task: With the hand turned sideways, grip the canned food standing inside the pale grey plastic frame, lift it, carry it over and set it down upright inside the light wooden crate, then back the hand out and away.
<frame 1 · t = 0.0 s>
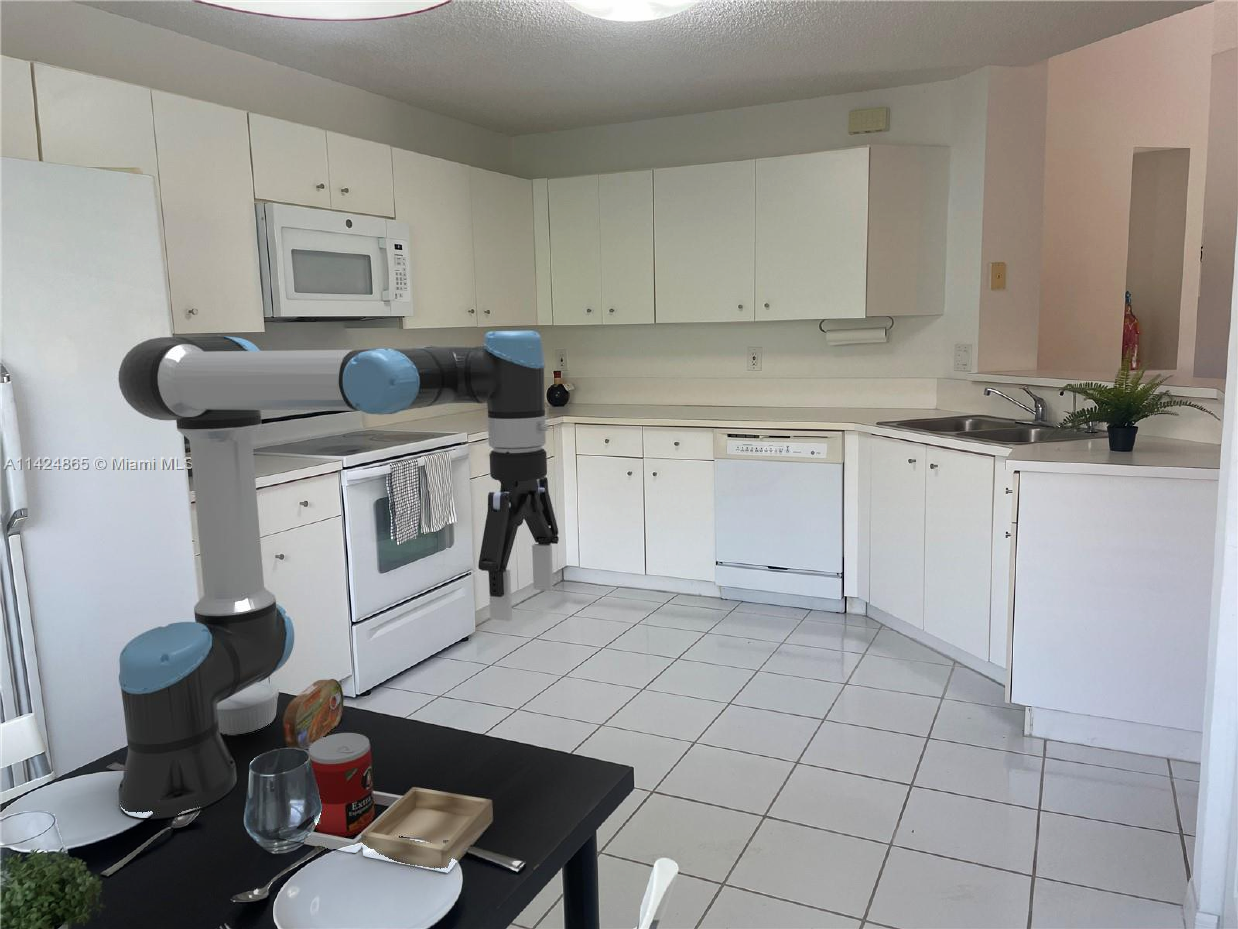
hand: (523, 603, 118), 28 cm above the table, tool pointing down, fingers open, 13 cm apart
ramekin: (245, 725, 147), on the table
tin: (315, 739, 142), on the table
canned food: (344, 824, 117), resting in grey plastic frame
wooden crate: (430, 838, 112), on the table
grey plastic frame: (344, 822, 117), on the table
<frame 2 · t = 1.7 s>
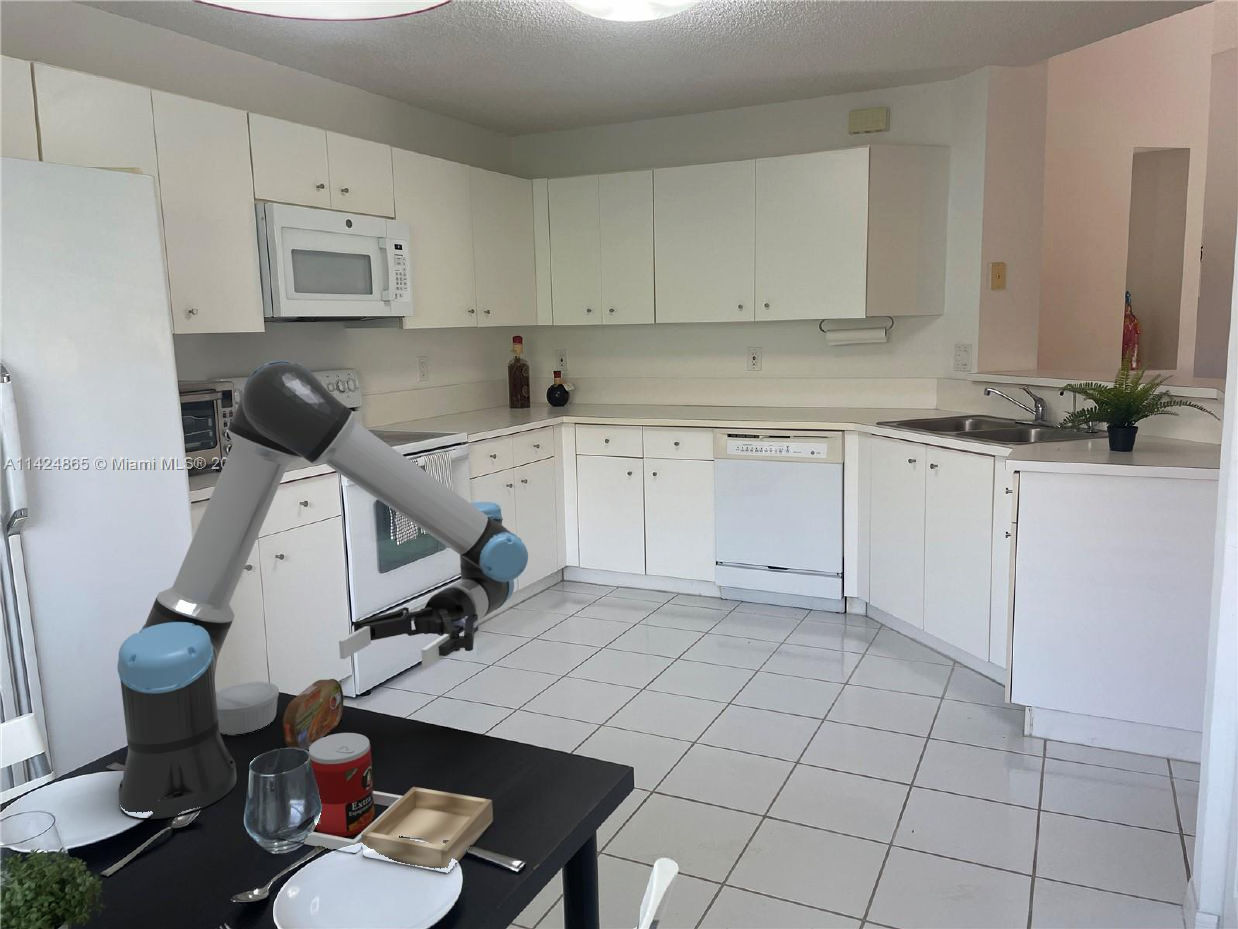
hand: (382, 654, 124), 20 cm above the table, tool horizontal, fingers open, 13 cm apart
nothing on the table moved.
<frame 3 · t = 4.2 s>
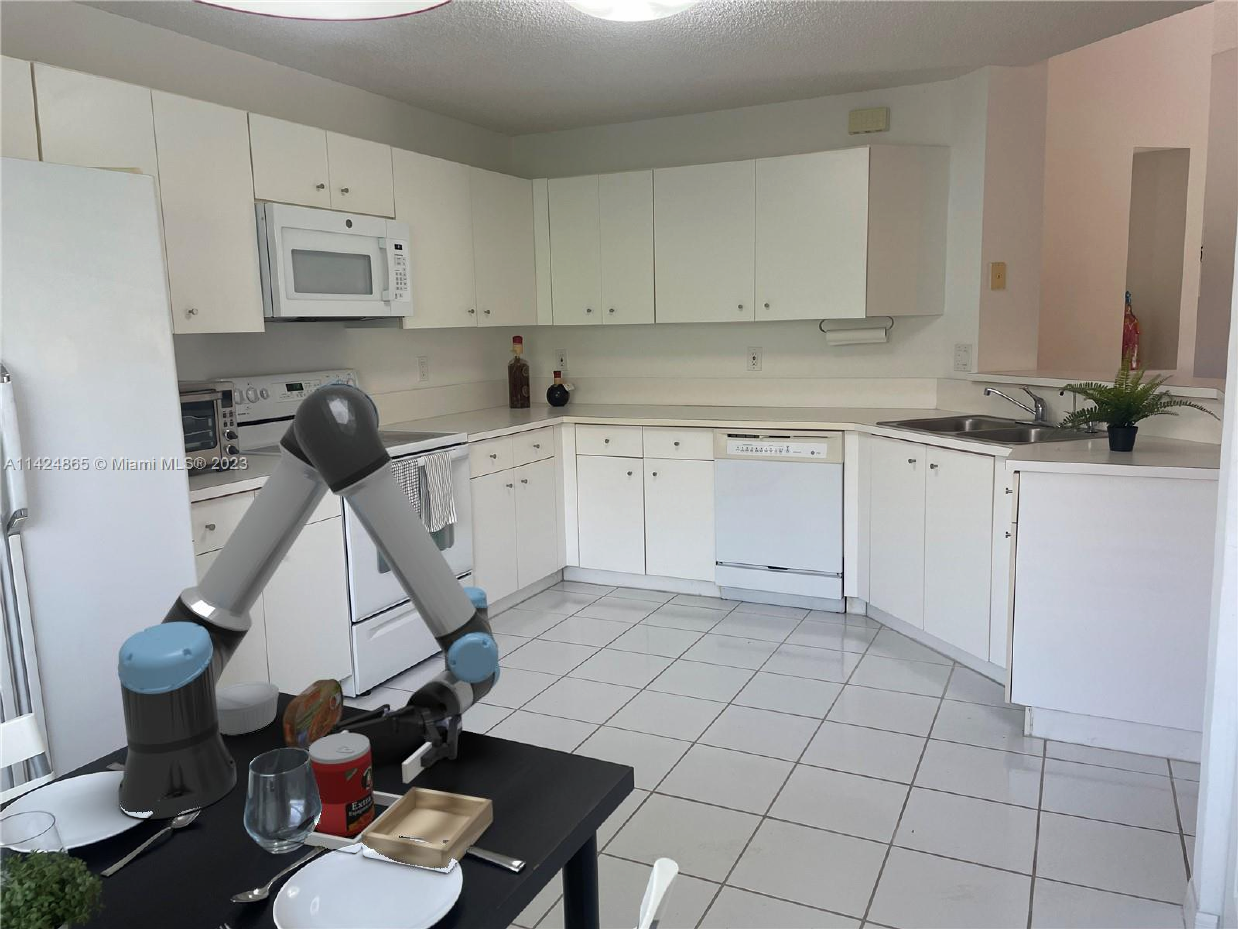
hand: (360, 767, 118), 6 cm above the table, tool horizontal, fingers open, 13 cm apart
nothing on the table moved.
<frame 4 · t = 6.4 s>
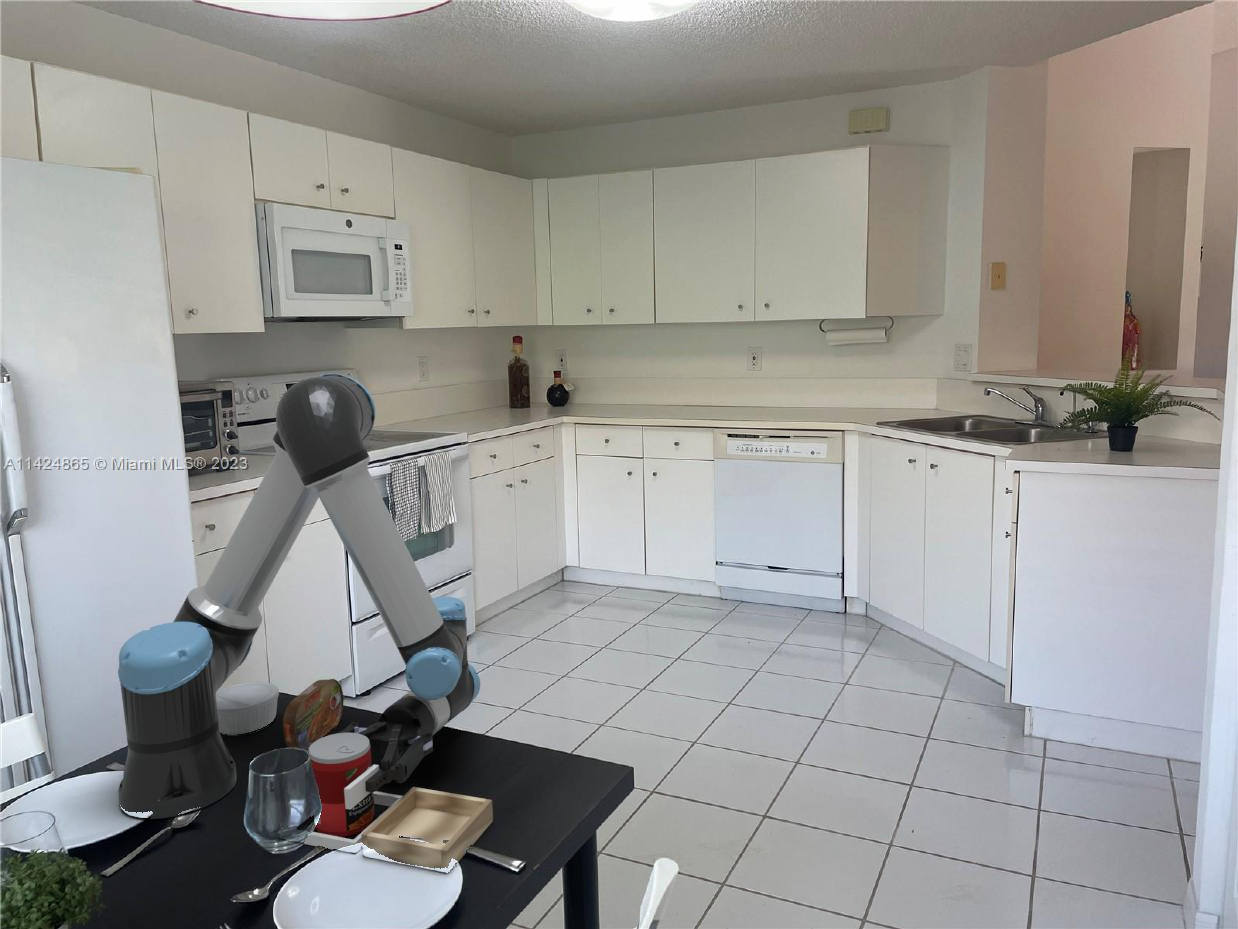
hand: (318, 794, 111), 7 cm above the table, tool horizontal, fingers closed on canned food, 8 cm apart
canned food: (344, 823, 117), resting in grey plastic frame, touching gripper
everything else where it was.
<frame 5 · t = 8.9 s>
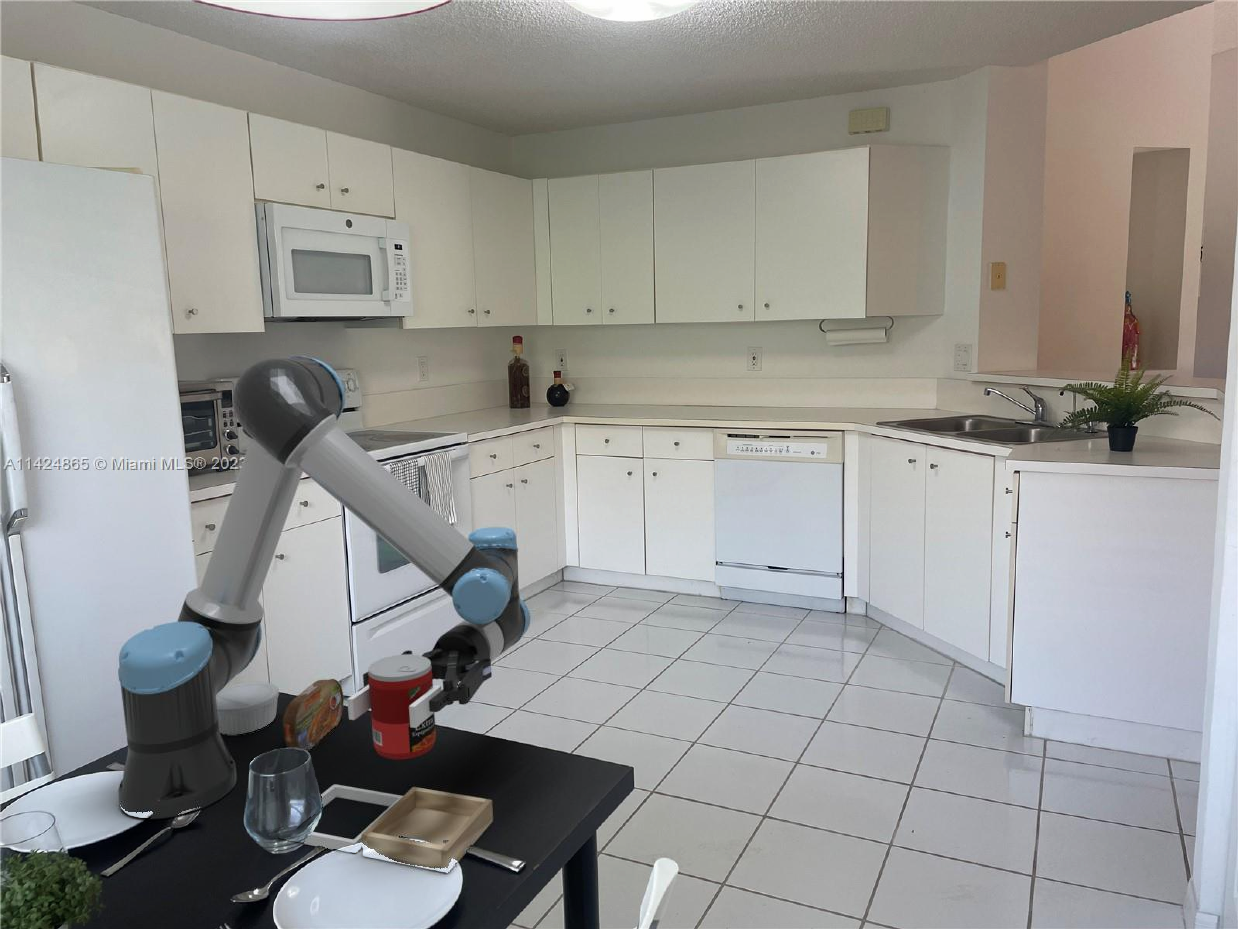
hand: (381, 713, 107), 19 cm above the table, tool horizontal, fingers closed on canned food, 8 cm apart
canned food: (405, 747, 112), point 12 cm above the table, touching gripper
everything else where it was.
when the fingers open (9 cm above the table, at t = 11.7 s): canned food drops 1 cm, resting on wooden crate.
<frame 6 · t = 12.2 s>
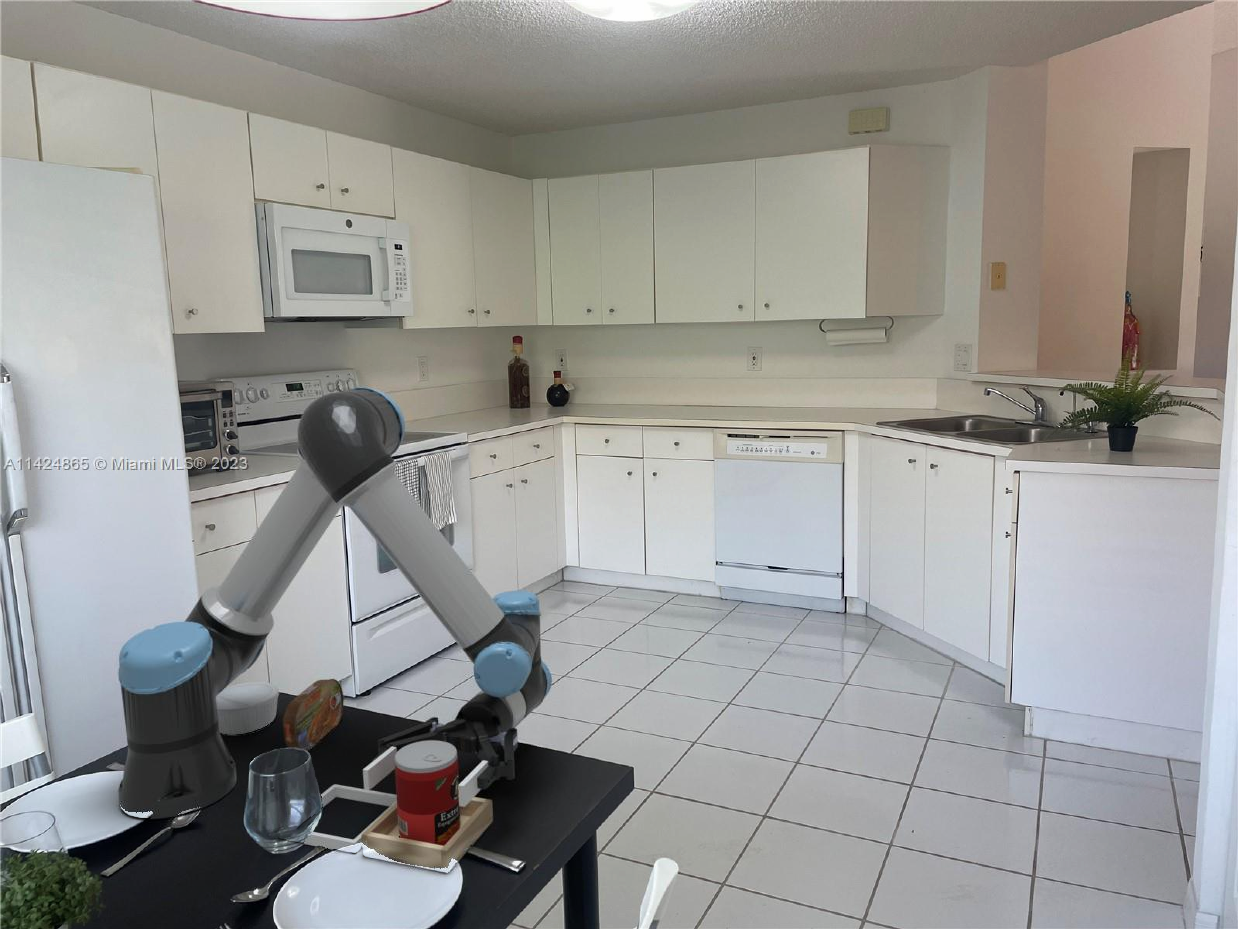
hand: (412, 788, 108), 9 cm above the table, tool horizontal, fingers open, 13 cm apart
canned food: (430, 835, 112), resting on wooden crate
everything else where it was.
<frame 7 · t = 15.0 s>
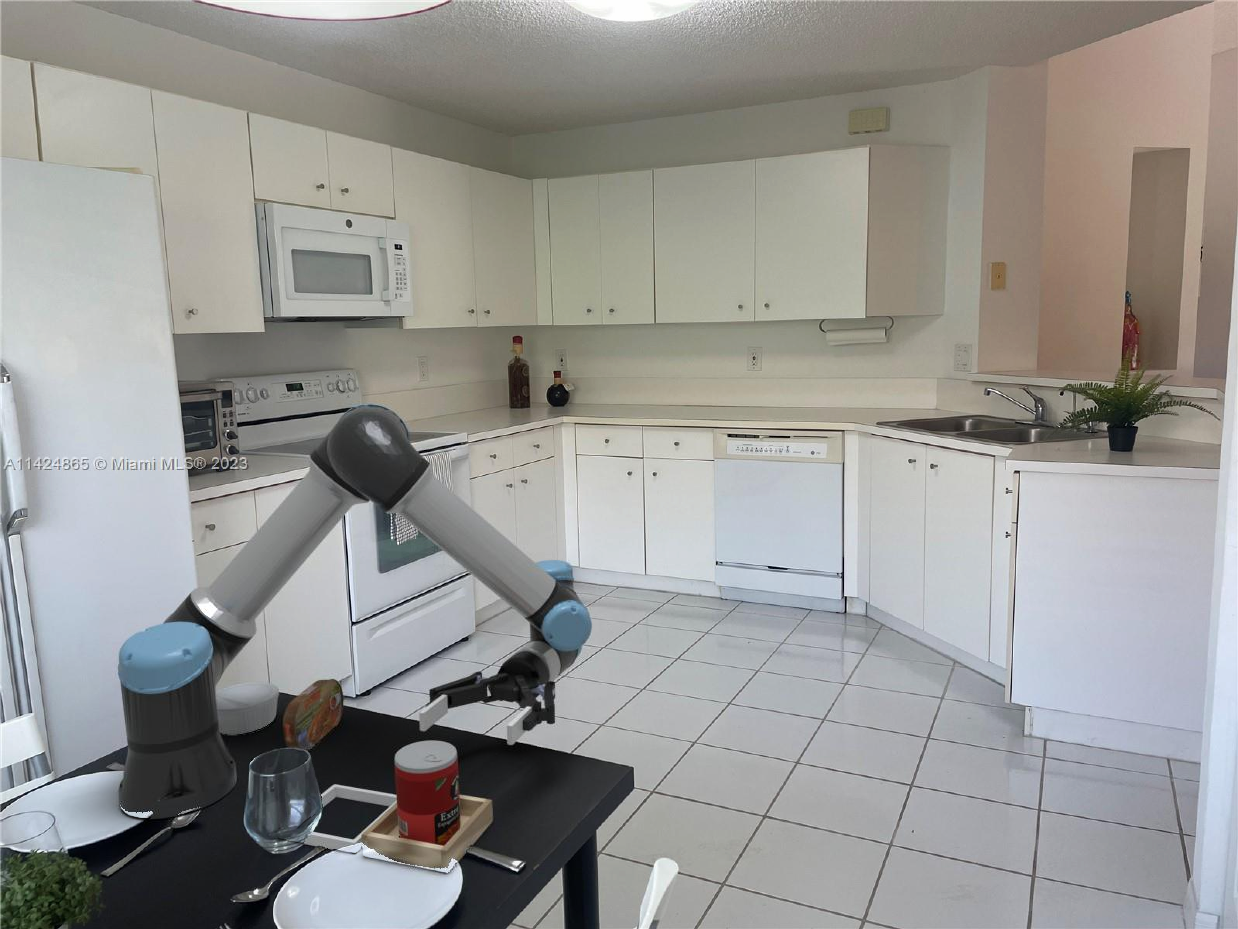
hand: (464, 728, 120), 10 cm above the table, tool horizontal, fingers open, 13 cm apart
nothing on the table moved.
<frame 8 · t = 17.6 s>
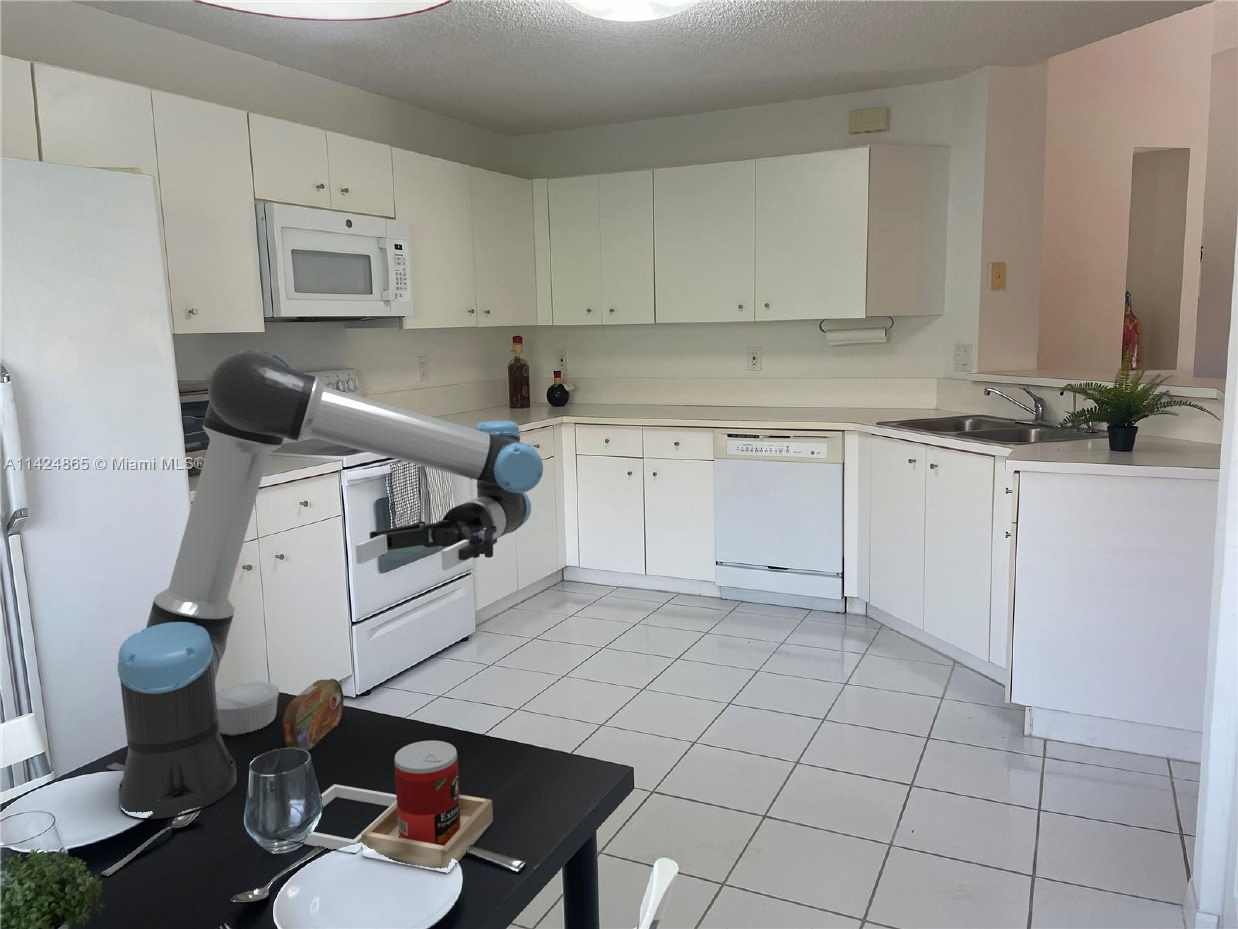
hand: (400, 557, 120), 34 cm above the table, tool horizontal, fingers open, 13 cm apart
nothing on the table moved.
at the end: canned food 0.1 cm off-centre on the wooden crate, point 0.4 cm above the wooden crate's base; canned food tilted 0°; the gripper is holding nothing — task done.
